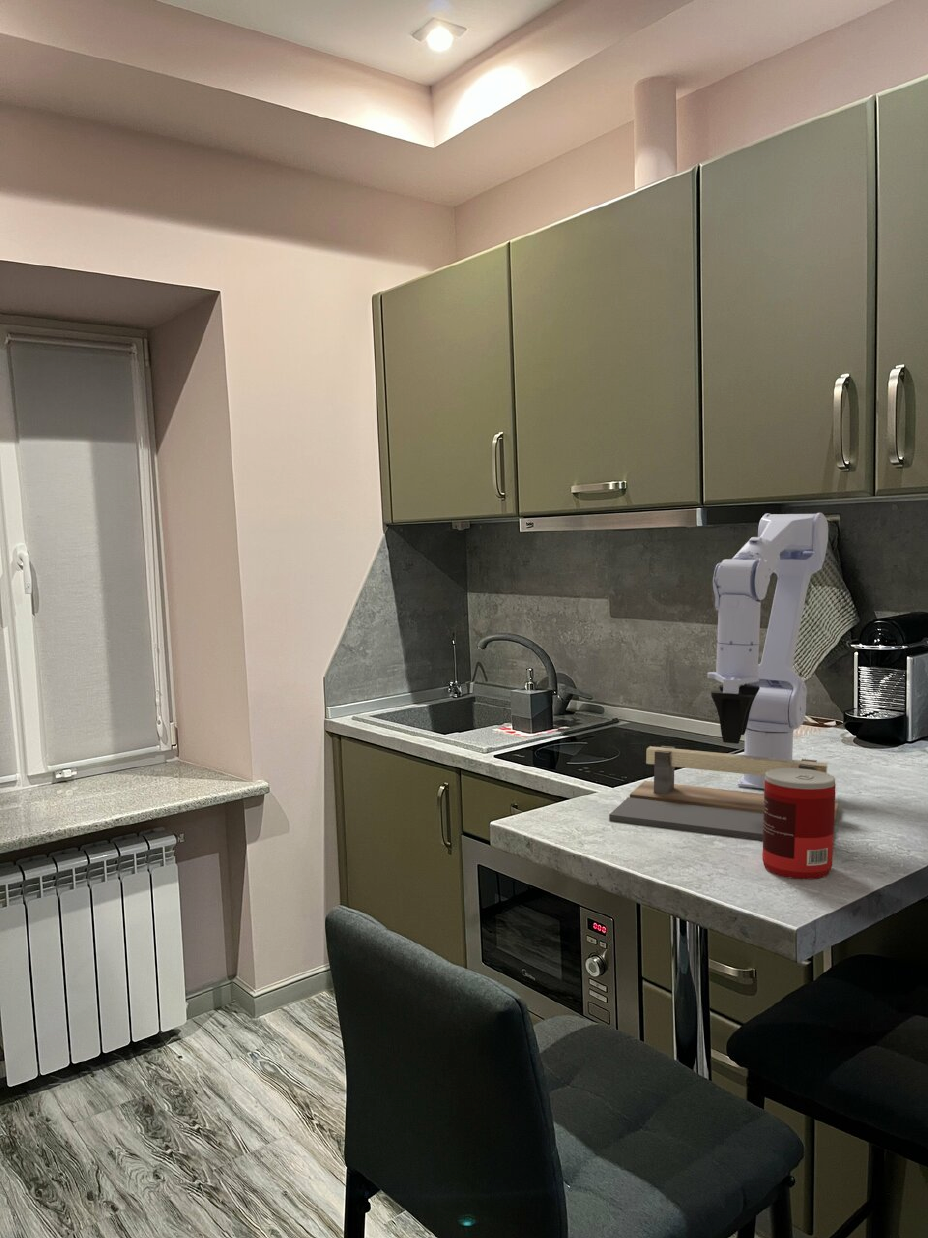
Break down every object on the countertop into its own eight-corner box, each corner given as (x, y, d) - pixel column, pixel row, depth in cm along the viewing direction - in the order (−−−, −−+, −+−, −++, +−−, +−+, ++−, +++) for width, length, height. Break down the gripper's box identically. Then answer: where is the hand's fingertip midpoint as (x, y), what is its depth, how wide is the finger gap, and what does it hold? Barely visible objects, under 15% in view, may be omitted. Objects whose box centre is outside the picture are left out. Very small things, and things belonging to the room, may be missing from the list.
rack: (644, 787, 148) (645, 741, 147) (838, 809, 136) (840, 759, 136) (629, 801, 140) (630, 752, 139) (834, 825, 128) (836, 772, 128)
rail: (649, 760, 144) (649, 746, 144) (826, 778, 134) (827, 763, 133) (646, 763, 142) (646, 749, 142) (825, 782, 132) (826, 766, 131)
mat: (627, 802, 139) (628, 797, 139) (834, 827, 127) (834, 821, 127) (609, 820, 130) (609, 814, 130) (829, 848, 118) (829, 842, 118)
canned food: (837, 865, 112) (841, 772, 112) (825, 885, 106) (828, 787, 105) (770, 853, 116) (773, 764, 115) (754, 872, 109) (757, 778, 109)
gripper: (715, 639, 144) (712, 728, 145) (702, 645, 131) (698, 744, 132) (764, 641, 142) (760, 732, 142) (755, 648, 128) (751, 748, 129)
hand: (734, 738), depth 137 cm, fingers open, 7 cm apart
